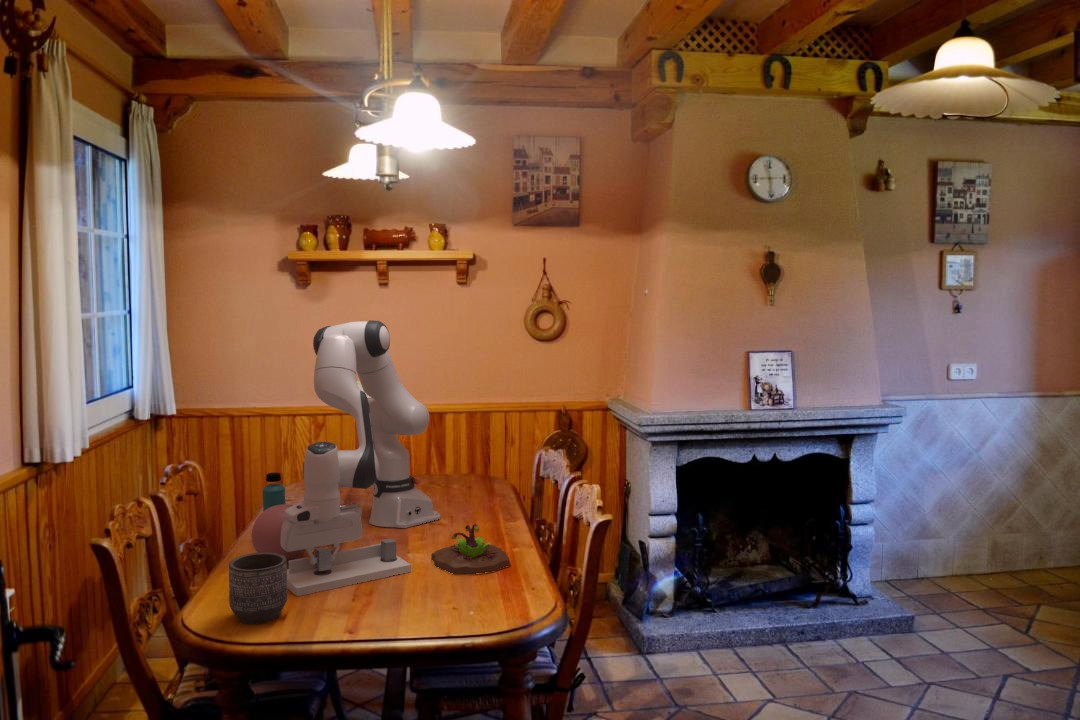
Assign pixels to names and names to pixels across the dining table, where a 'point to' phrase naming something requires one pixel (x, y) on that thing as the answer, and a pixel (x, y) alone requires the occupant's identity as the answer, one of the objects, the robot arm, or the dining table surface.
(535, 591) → the dining table surface
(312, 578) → the grey peg board
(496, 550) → the plant
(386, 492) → the robot arm
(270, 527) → the balloon
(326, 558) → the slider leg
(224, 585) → the dining table surface
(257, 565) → the planter
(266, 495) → the beverage bottle
